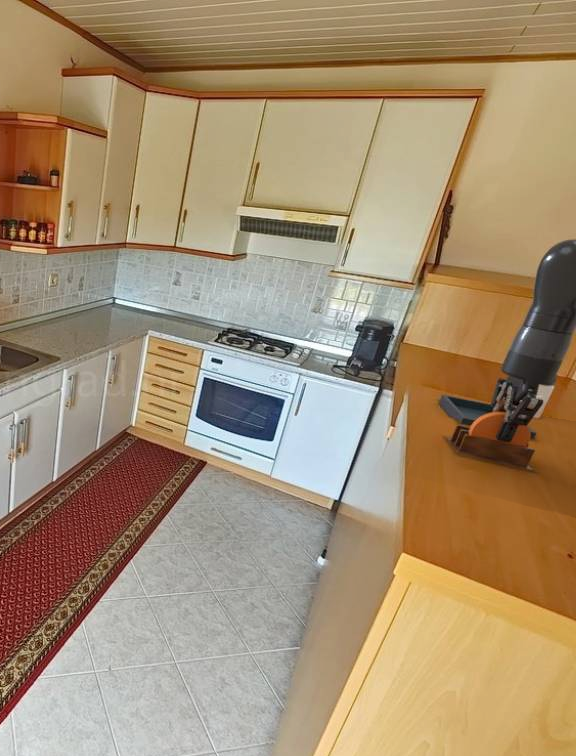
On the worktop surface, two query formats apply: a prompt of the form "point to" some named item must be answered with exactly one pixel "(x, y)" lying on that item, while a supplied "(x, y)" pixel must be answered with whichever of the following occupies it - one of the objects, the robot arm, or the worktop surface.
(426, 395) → the worktop surface
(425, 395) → the worktop surface
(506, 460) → the rack
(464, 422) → the tray
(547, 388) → the jar
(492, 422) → the disc
